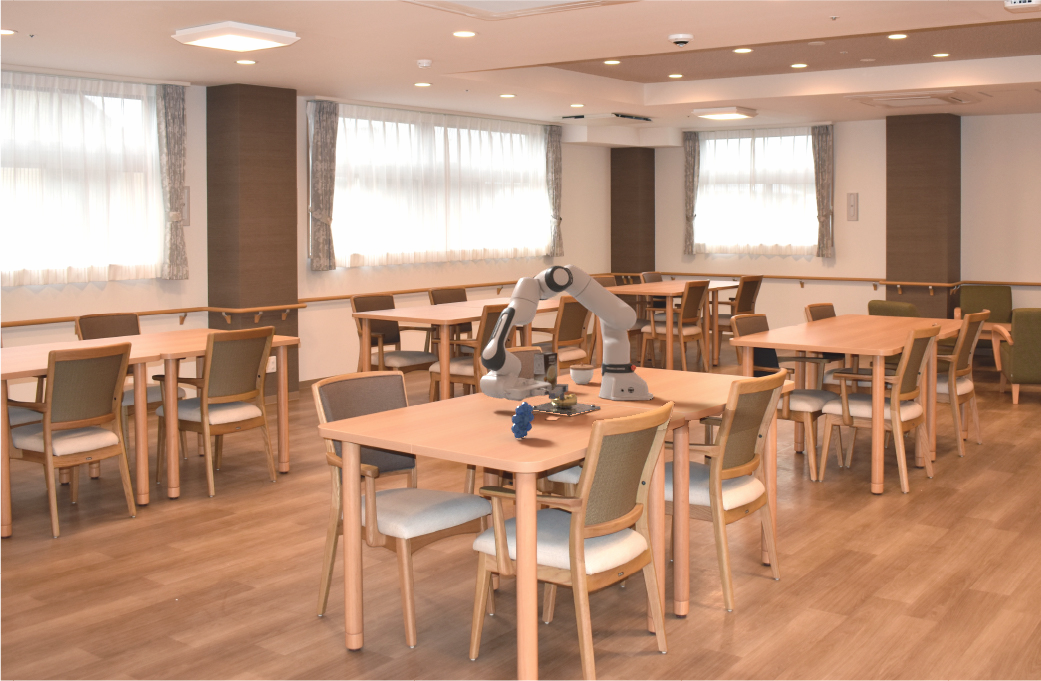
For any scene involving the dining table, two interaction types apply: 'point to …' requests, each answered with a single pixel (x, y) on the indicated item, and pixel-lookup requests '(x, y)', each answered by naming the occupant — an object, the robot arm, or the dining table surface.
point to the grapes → (522, 420)
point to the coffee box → (546, 368)
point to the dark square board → (565, 408)
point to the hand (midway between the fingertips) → (546, 392)
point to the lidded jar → (581, 373)
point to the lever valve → (562, 396)
